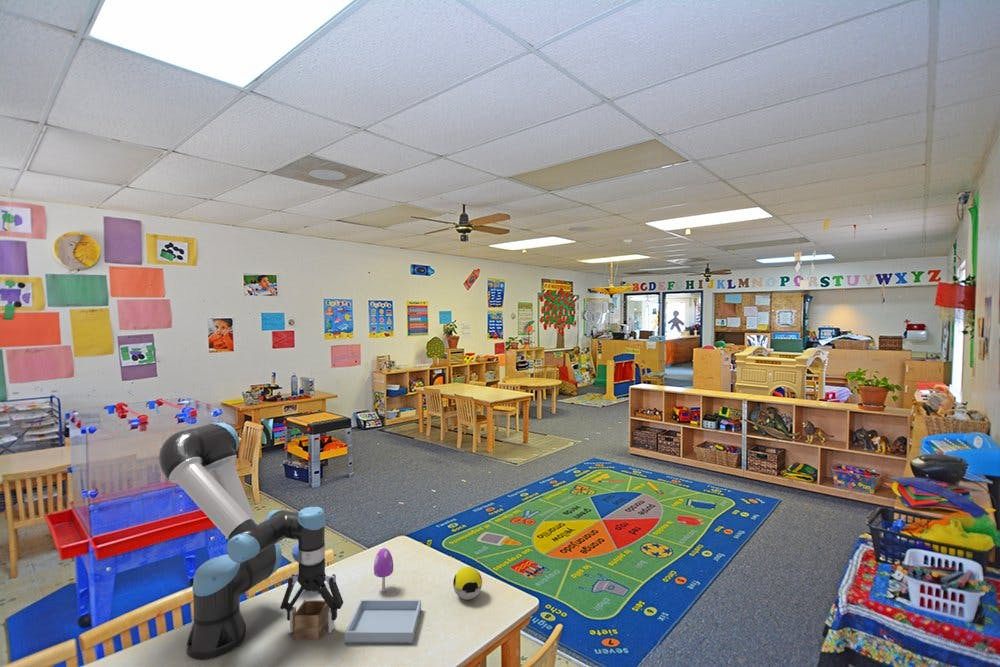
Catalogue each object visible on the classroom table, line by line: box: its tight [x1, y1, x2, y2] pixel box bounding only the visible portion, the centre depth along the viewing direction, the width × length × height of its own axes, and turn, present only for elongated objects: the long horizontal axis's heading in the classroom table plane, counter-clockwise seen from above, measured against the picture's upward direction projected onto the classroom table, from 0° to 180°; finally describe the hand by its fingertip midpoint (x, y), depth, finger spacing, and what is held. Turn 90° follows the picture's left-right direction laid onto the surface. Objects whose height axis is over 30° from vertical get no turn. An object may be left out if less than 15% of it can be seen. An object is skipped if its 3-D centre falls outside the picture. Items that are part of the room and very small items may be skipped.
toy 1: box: [373, 547, 394, 592], centre depth 163 cm, size 7×7×15 cm
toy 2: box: [452, 566, 483, 601], centre depth 160 cm, size 10×10×10 cm
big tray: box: [344, 599, 422, 645], centre depth 145 cm, size 20×16×4 cm
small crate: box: [292, 599, 330, 640], centre depth 142 cm, size 8×8×7 cm
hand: (312, 629), depth 142 cm, fingers open, 11 cm apart
